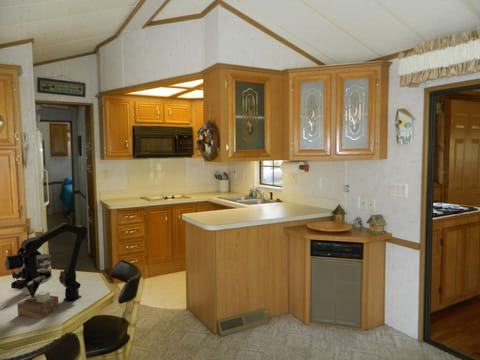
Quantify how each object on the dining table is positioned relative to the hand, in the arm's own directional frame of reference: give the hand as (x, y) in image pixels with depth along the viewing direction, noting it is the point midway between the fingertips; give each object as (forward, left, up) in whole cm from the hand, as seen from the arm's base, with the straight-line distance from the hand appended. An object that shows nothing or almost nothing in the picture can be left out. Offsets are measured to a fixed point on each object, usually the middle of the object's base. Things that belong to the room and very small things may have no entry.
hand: (32, 295), depth 185 cm
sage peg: (0, +6, -4) cm, 7 cm away
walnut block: (0, +3, -8) cm, 8 cm away
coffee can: (-37, -31, -8) cm, 49 cm away
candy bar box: (-19, -22, -8) cm, 30 cm away
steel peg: (0, 0, -6) cm, 6 cm away
